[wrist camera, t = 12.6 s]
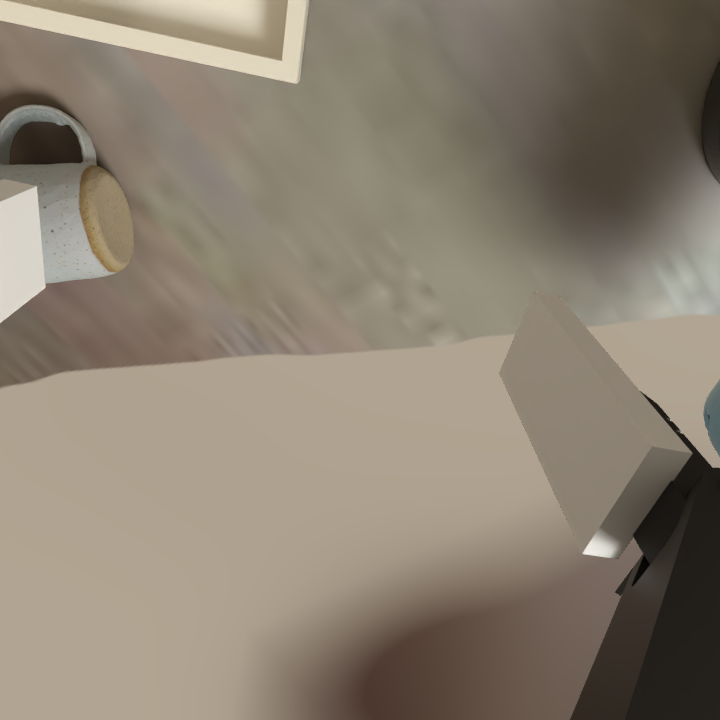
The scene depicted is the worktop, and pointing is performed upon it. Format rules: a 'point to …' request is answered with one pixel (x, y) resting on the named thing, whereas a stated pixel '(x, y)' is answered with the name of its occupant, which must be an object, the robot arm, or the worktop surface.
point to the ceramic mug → (72, 204)
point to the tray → (183, 29)
